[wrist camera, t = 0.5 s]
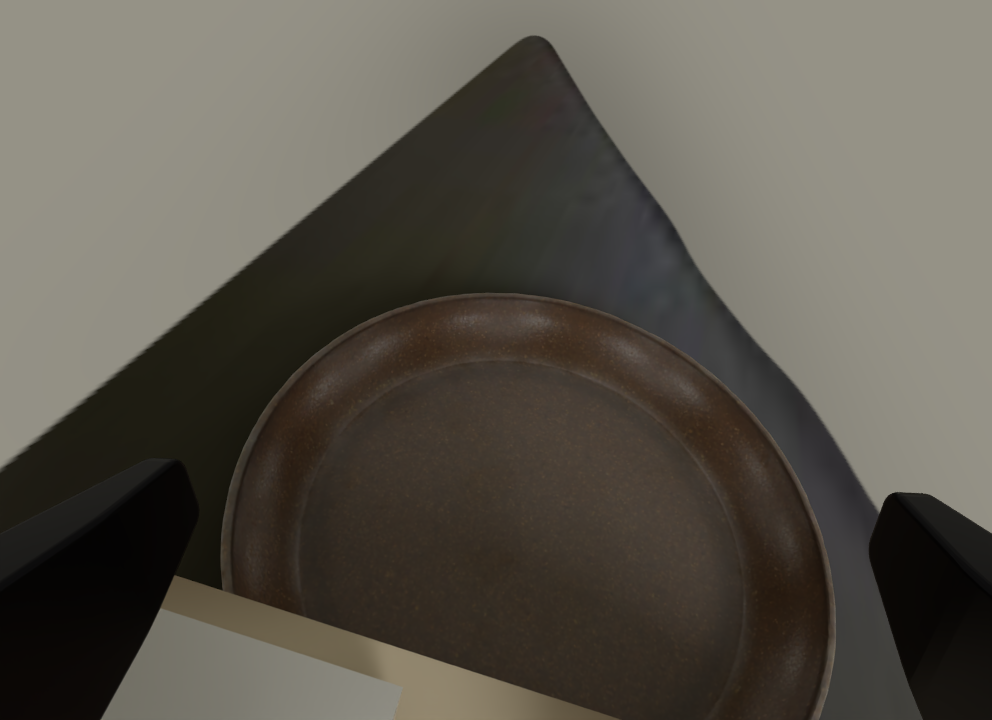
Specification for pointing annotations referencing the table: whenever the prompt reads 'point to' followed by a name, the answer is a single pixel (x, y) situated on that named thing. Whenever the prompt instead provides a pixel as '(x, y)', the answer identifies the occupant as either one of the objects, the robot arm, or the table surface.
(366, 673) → the beige elongated piece
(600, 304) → the table surface
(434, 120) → the table surface
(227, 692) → the light grey block
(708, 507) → the plant saucer
